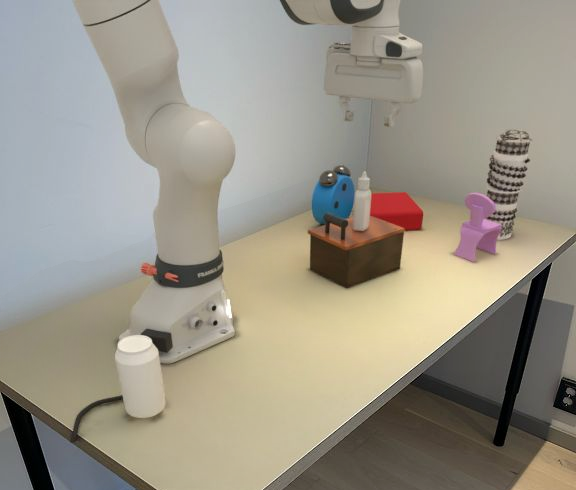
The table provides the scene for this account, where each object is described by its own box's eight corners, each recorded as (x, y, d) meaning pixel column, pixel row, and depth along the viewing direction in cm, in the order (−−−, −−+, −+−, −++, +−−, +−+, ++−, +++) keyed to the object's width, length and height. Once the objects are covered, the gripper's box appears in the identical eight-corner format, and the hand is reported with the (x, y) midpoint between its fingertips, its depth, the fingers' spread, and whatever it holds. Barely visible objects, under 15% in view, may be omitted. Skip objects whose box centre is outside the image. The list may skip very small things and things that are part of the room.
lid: (346, 250, 121) (347, 227, 118) (307, 233, 129) (307, 211, 126) (404, 231, 129) (406, 209, 127) (364, 216, 138) (366, 195, 135)
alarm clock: (334, 216, 165) (337, 160, 156) (354, 220, 162) (357, 164, 153) (310, 229, 156) (311, 171, 147) (330, 234, 153) (332, 175, 144)
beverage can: (138, 395, 94) (126, 329, 87) (173, 401, 92) (164, 335, 86) (118, 417, 89) (104, 350, 82) (155, 425, 88) (143, 357, 81)
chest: (346, 288, 126) (349, 249, 121) (309, 269, 134) (310, 232, 129) (400, 269, 134) (404, 231, 129) (361, 252, 143) (364, 217, 138)
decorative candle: (493, 225, 158) (513, 126, 144) (520, 235, 152) (544, 133, 137) (468, 231, 154) (486, 130, 140) (495, 242, 148) (517, 137, 133)
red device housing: (355, 210, 168) (356, 193, 166) (403, 208, 170) (405, 191, 167) (368, 232, 154) (370, 213, 151) (421, 230, 155) (423, 211, 152)
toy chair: (500, 254, 141) (514, 192, 133) (477, 263, 137) (490, 199, 128) (472, 244, 147) (484, 183, 138) (449, 252, 142) (460, 190, 134)
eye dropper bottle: (376, 227, 130) (381, 171, 123) (359, 233, 127) (363, 176, 120) (361, 222, 132) (365, 167, 125) (344, 228, 129) (347, 172, 122)
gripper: (318, 42, 112) (316, 120, 120) (415, 48, 102) (406, 132, 110) (335, 40, 116) (333, 115, 124) (430, 45, 106) (421, 126, 114)
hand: (368, 123), depth 117 cm, fingers open, 8 cm apart
